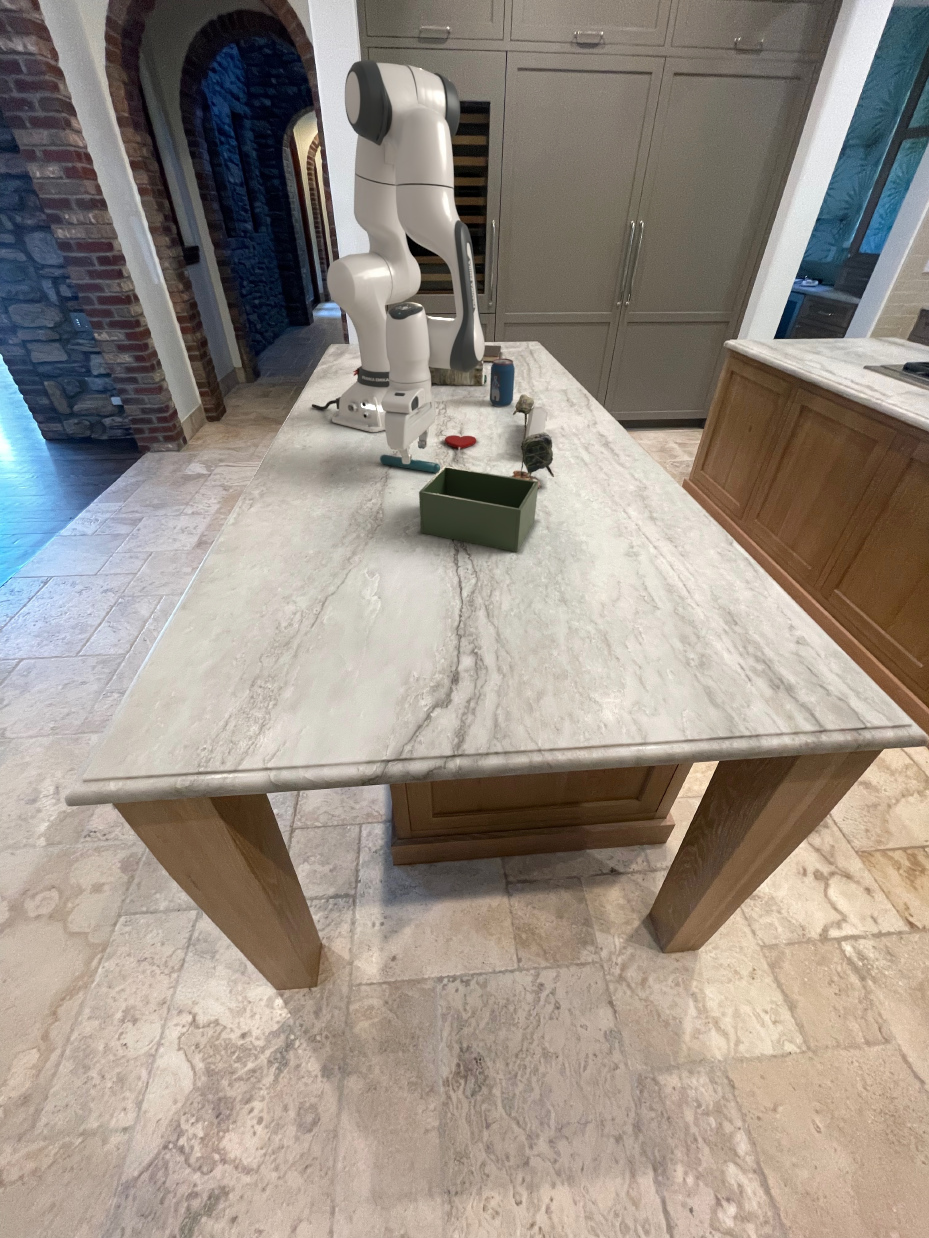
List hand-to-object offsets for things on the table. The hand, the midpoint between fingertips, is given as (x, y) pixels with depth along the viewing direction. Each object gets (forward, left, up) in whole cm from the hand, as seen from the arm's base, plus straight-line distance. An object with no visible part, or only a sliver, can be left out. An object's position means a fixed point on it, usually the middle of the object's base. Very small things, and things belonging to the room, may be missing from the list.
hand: (415, 455), depth 123 cm
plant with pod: (+27, +1, -4) cm, 27 cm away
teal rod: (-1, 0, -3) cm, 3 cm away
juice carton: (-16, +68, -4) cm, 70 cm away
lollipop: (+6, +14, -3) cm, 15 cm away
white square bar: (+22, +26, -4) cm, 34 cm away
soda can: (+5, +52, -4) cm, 52 cm away
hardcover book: (-23, +101, -4) cm, 103 cm away
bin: (+23, -20, -3) cm, 31 cm away
